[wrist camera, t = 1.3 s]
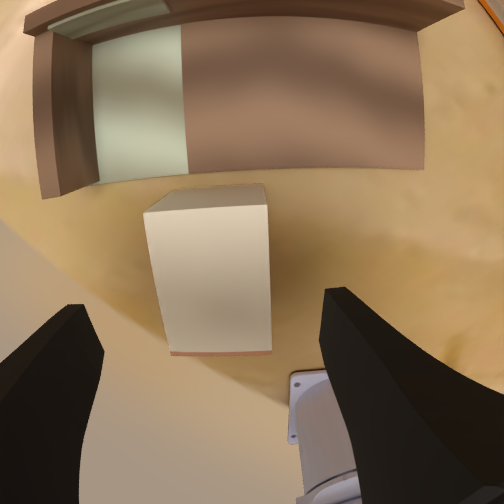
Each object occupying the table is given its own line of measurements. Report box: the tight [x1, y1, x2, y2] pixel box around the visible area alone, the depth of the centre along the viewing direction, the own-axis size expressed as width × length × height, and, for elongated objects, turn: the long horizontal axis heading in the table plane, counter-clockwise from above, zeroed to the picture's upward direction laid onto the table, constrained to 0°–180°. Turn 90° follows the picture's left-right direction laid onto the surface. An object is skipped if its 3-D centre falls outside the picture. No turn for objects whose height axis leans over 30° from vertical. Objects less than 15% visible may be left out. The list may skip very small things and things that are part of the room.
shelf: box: [23, 0, 465, 200], centre depth 12 cm, size 10×20×6 cm, turn 93°
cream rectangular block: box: [143, 183, 272, 356], centre depth 16 cm, size 7×5×6 cm
